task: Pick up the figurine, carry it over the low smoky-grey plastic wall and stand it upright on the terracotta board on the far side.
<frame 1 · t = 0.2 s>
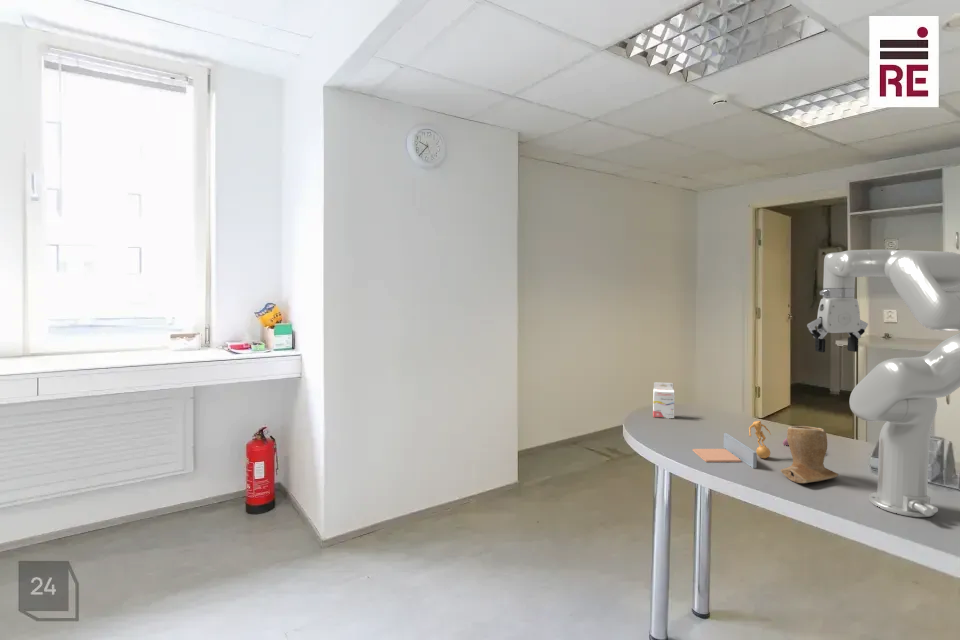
hand: (836, 351, 145), 36 cm above the table, tool pointing down, fingers open, 9 cm apart
low wall: (738, 457, 160), on the table
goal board: (715, 456, 161), on the table
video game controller: (797, 450, 166), on the table
ink cartridge box: (663, 417, 210), on the table
stone cup: (805, 478, 142), on the table
figurine: (760, 457, 159), on the table
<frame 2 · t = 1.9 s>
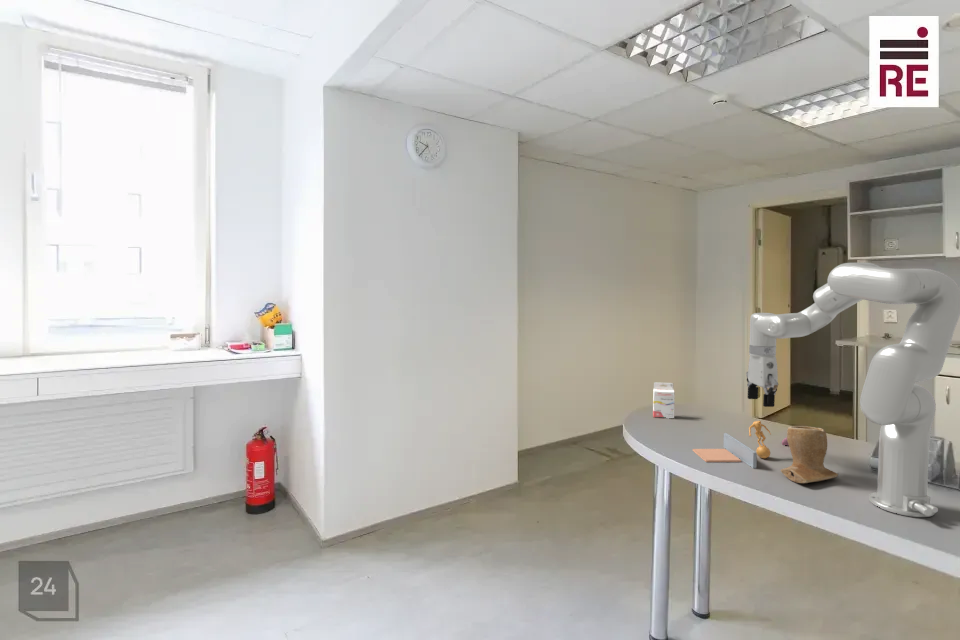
hand: (760, 402, 159), 18 cm above the table, tool pointing down, fingers open, 9 cm apart
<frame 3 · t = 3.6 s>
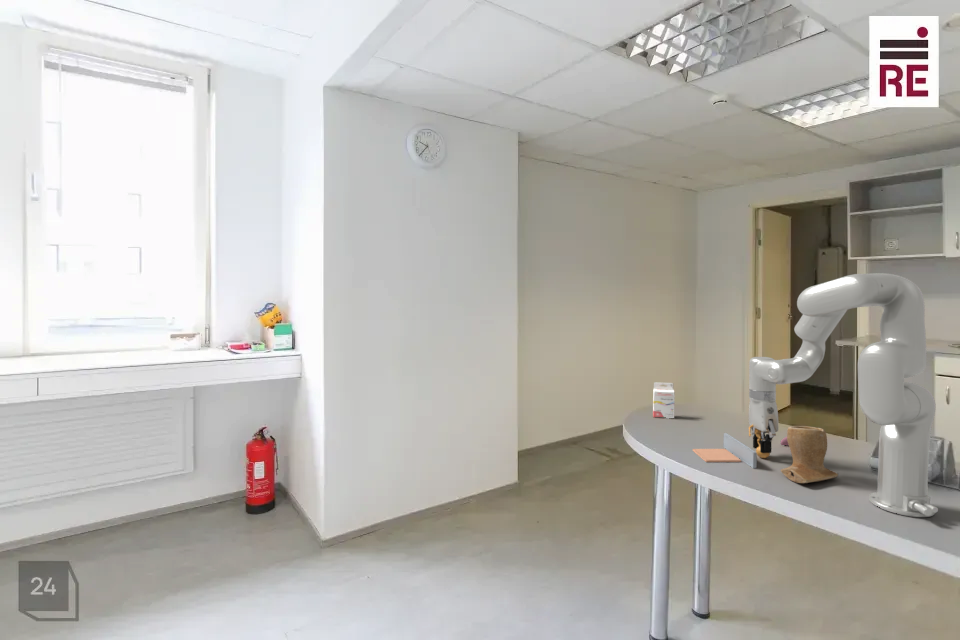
hand: (762, 449, 159), 3 cm above the table, tool pointing down, fingers closed on figurine, 3 cm apart
figurine: (760, 457, 160), on the table, touching gripper
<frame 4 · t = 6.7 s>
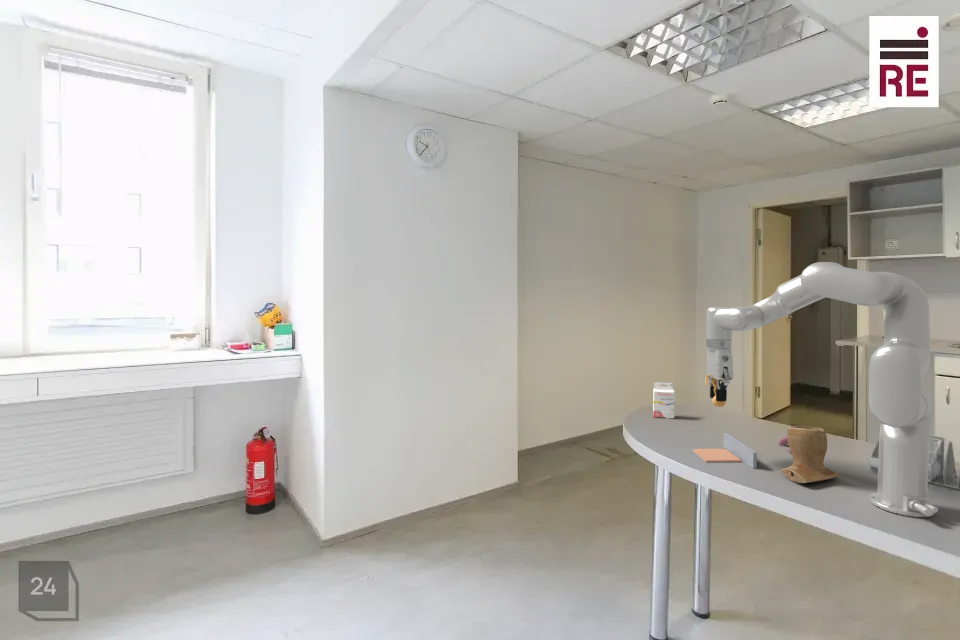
hand: (718, 399, 160), 19 cm above the table, tool pointing down, fingers closed on figurine, 3 cm apart
figurine: (716, 406, 161), point 16 cm above the table, touching gripper
when the fingers open (4 cm above the table, at t = 9.9 s): figurine stays where it is, resting on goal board.
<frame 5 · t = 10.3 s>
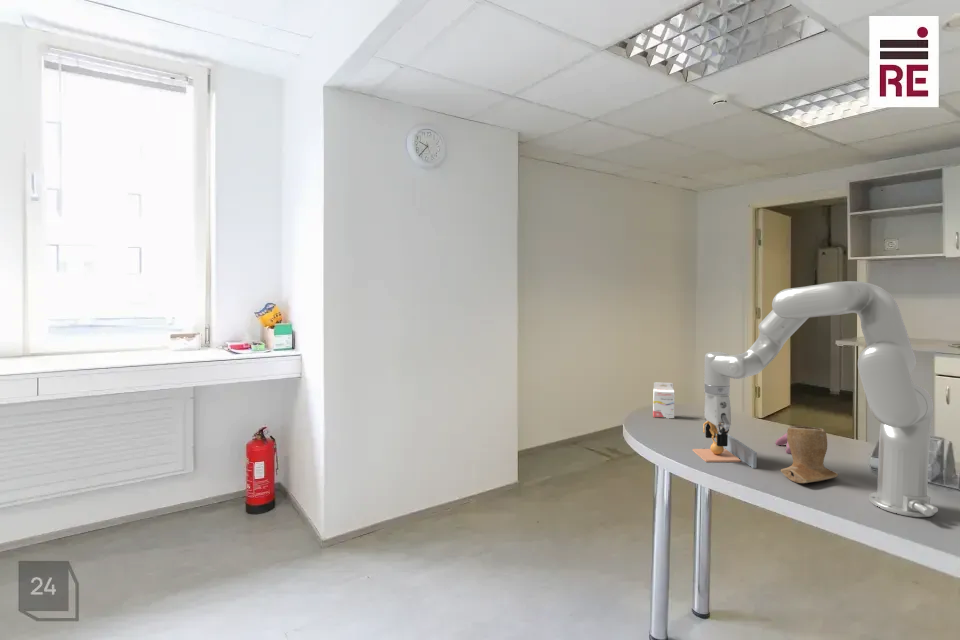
hand: (716, 441, 161), 5 cm above the table, tool pointing down, fingers open, 8 cm apart
figurine: (714, 453, 162), resting on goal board
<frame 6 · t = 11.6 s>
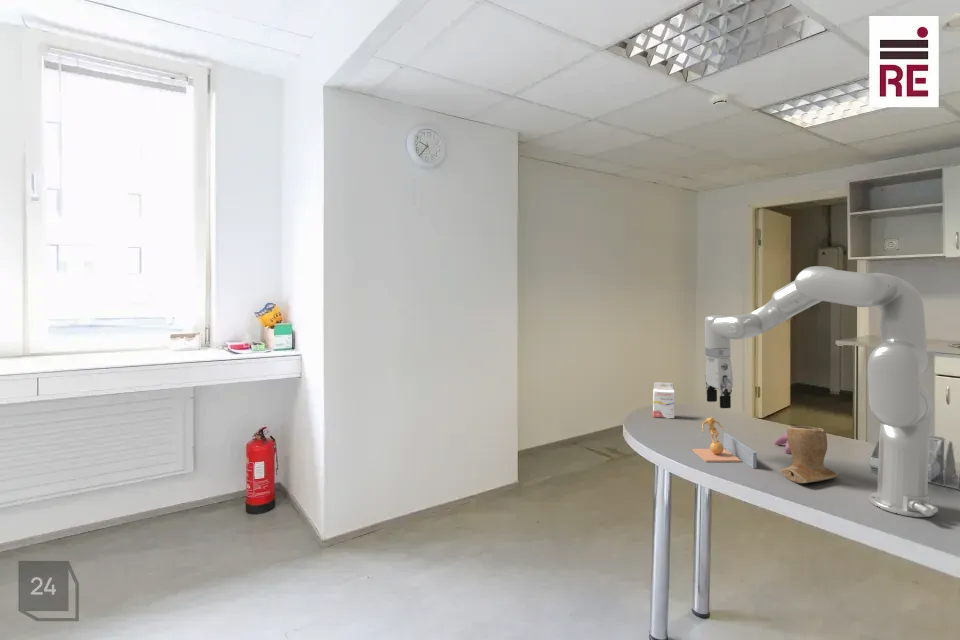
hand: (718, 404, 159), 17 cm above the table, tool pointing down, fingers open, 9 cm apart
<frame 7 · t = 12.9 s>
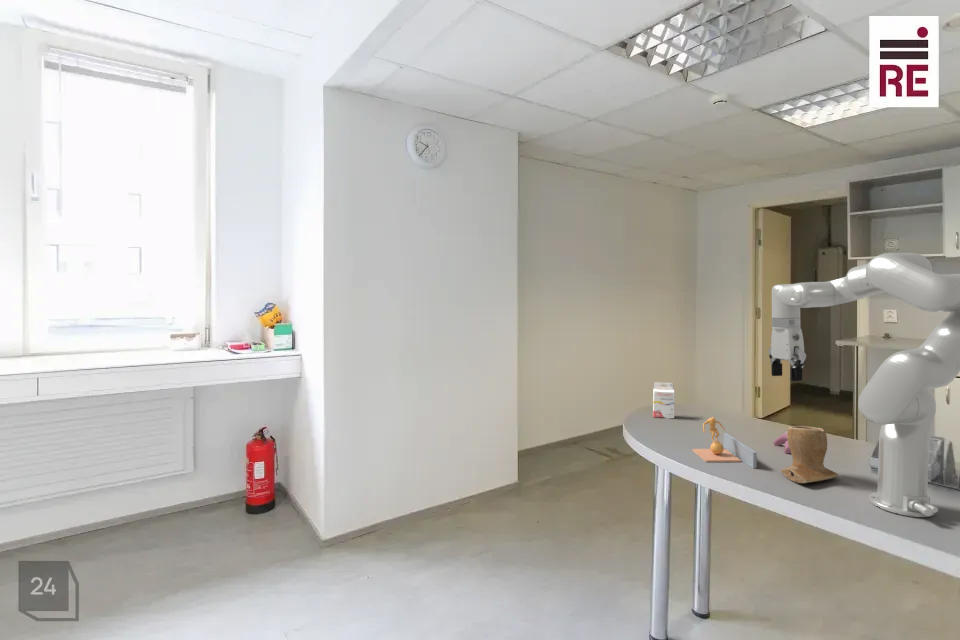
hand: (786, 378, 152), 27 cm above the table, tool pointing down, fingers open, 9 cm apart
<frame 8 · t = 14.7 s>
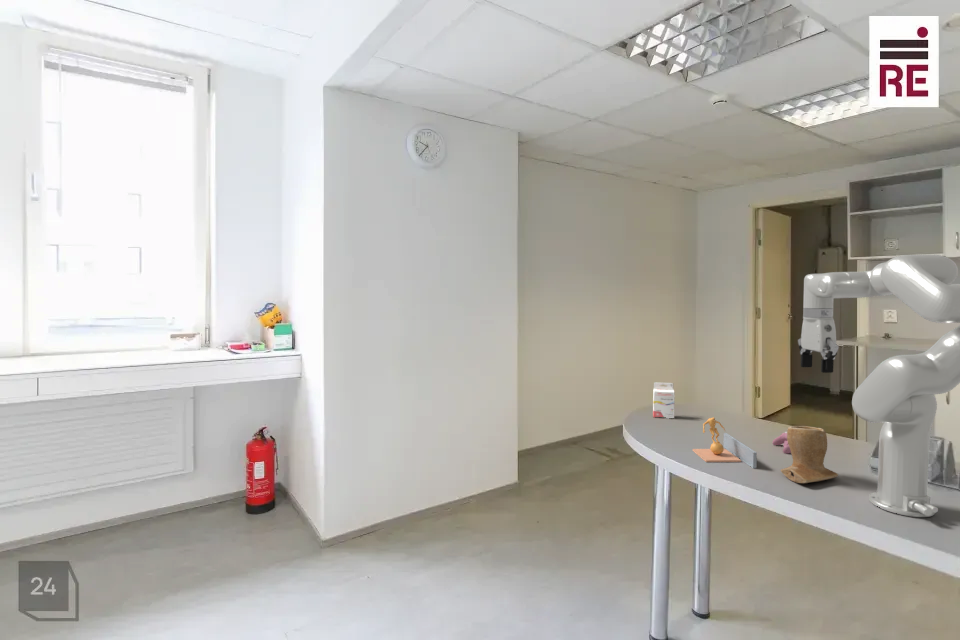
hand: (816, 369, 149), 30 cm above the table, tool pointing down, fingers open, 9 cm apart
at the end: figurine inside the target area on the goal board (1.1 cm from its centre), point 0.4 cm above the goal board's base; figurine tilted 1°; the gripper is holding nothing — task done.
